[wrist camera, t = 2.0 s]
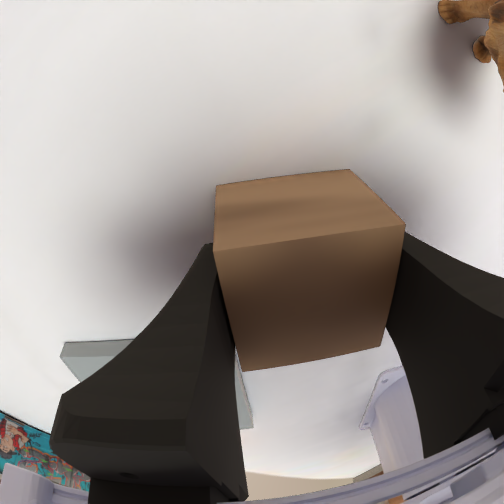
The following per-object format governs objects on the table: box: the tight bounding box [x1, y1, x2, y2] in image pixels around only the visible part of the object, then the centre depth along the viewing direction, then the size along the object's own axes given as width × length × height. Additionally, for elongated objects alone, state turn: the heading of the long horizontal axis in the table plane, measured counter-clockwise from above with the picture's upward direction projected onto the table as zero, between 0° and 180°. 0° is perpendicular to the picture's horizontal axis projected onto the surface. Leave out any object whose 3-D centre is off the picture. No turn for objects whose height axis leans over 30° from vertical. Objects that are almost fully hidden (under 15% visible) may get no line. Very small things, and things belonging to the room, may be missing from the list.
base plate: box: [60, 339, 253, 430], centre depth 16 cm, size 9×9×1 cm
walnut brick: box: [213, 169, 406, 372], centre depth 10 cm, size 5×5×4 cm
